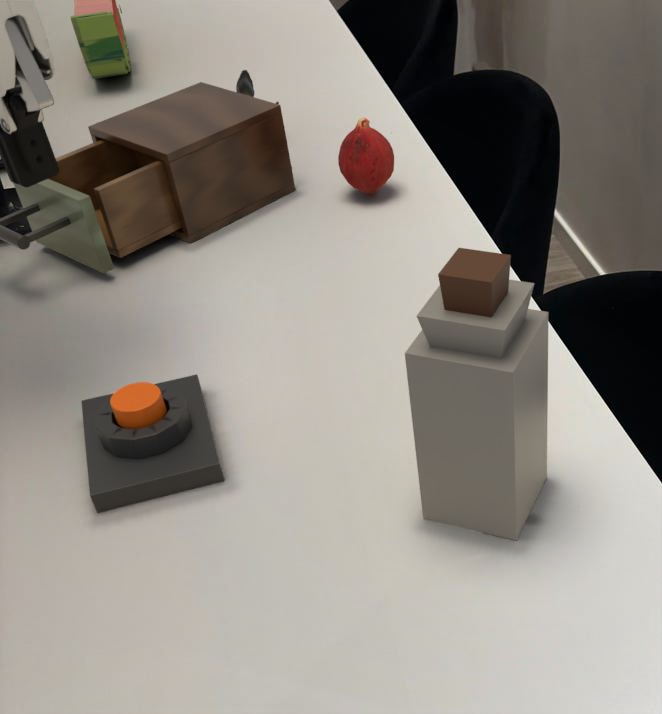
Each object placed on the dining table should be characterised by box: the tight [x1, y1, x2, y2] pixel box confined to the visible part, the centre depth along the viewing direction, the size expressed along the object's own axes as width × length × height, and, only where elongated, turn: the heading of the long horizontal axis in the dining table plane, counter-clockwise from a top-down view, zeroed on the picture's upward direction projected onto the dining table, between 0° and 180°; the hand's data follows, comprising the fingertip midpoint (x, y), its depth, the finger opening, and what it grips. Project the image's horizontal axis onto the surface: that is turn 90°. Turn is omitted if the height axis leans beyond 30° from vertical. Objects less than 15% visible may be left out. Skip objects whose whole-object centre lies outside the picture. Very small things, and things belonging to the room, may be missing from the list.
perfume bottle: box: [404, 247, 549, 541], centre depth 61 cm, size 7×7×18 cm
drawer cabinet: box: [87, 81, 297, 244], centre depth 101 cm, size 15×13×9 cm
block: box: [80, 374, 225, 514], centre depth 72 cm, size 12×9×4 cm
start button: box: [110, 381, 167, 429], centre depth 70 cm, size 4×4×2 cm
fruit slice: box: [70, 0, 132, 80], centre depth 134 cm, size 26×6×10 cm, turn 18°
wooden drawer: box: [0, 139, 182, 274], centre depth 94 cm, size 19×11×7 cm, turn 142°
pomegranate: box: [337, 117, 395, 196], centre depth 101 cm, size 6×6×8 cm
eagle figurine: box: [235, 69, 280, 105], centre depth 115 cm, size 8×7×9 cm
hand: (36, 178), depth 72 cm, fingers closed
